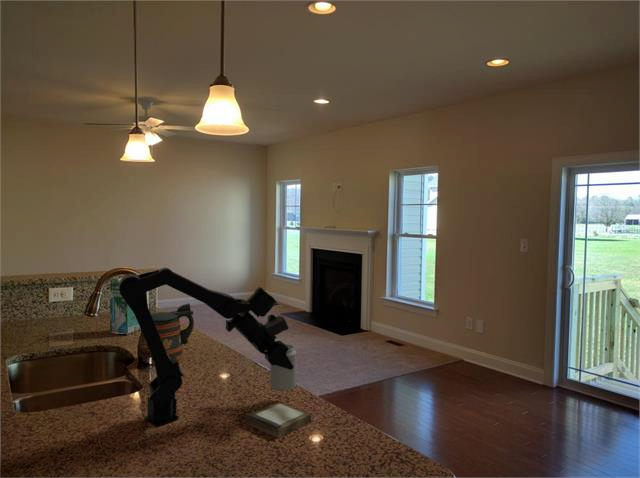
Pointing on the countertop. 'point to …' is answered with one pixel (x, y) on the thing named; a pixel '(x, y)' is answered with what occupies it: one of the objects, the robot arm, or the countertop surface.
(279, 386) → the can
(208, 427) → the countertop surface
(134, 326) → the milk carton
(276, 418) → the grey flat square slab
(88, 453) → the countertop surface
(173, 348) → the beer stein
